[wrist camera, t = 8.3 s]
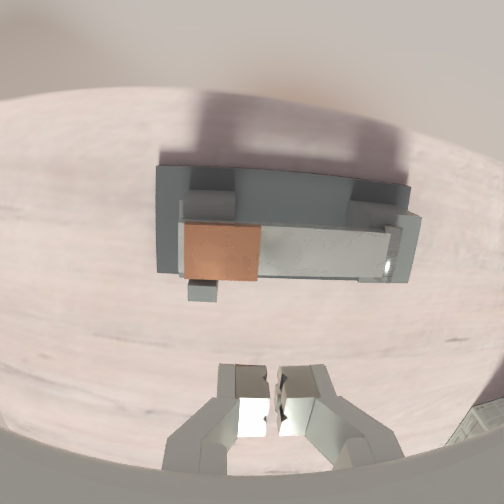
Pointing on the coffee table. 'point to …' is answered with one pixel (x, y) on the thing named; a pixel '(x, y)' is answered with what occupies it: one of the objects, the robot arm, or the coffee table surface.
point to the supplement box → (480, 420)
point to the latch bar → (284, 250)
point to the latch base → (276, 210)
